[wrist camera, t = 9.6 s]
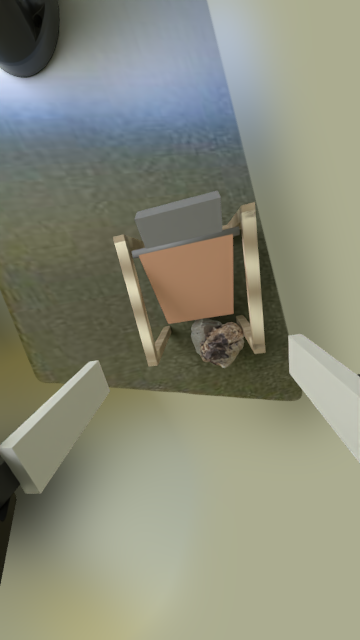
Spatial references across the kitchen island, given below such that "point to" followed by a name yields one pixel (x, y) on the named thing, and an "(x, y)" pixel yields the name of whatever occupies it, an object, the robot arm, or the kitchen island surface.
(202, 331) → the rock
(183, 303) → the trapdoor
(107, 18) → the kitchen island surface
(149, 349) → the frame
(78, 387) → the robot arm
